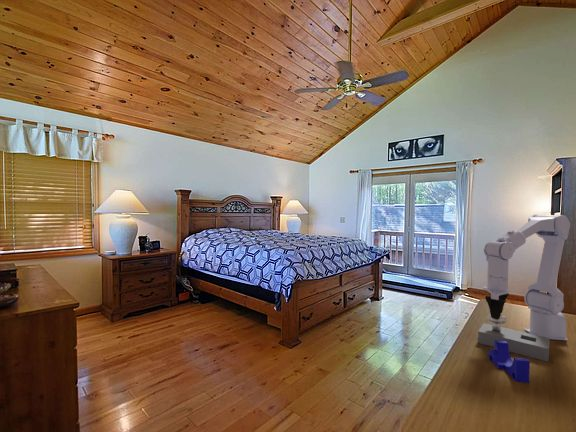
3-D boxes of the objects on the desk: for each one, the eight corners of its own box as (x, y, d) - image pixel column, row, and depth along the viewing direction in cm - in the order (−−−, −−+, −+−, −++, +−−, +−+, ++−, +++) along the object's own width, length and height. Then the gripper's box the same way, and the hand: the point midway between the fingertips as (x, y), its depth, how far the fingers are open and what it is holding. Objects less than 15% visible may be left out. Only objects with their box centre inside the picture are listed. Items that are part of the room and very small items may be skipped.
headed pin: (500, 328, 103) (501, 314, 103) (509, 334, 98) (509, 319, 98) (484, 327, 104) (484, 313, 104) (491, 333, 99) (492, 318, 98)
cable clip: (488, 358, 90) (489, 339, 90) (505, 360, 89) (505, 341, 89) (509, 381, 78) (510, 359, 78) (529, 383, 77) (529, 361, 77)
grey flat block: (549, 350, 95) (549, 338, 95) (548, 361, 88) (548, 348, 88) (483, 333, 107) (483, 323, 107) (478, 342, 100) (478, 331, 100)
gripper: (486, 271, 108) (486, 307, 108) (480, 278, 97) (479, 318, 98) (510, 274, 103) (509, 312, 104) (506, 281, 93) (505, 323, 93)
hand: (496, 315), depth 100 cm, fingers open, 7 cm apart
